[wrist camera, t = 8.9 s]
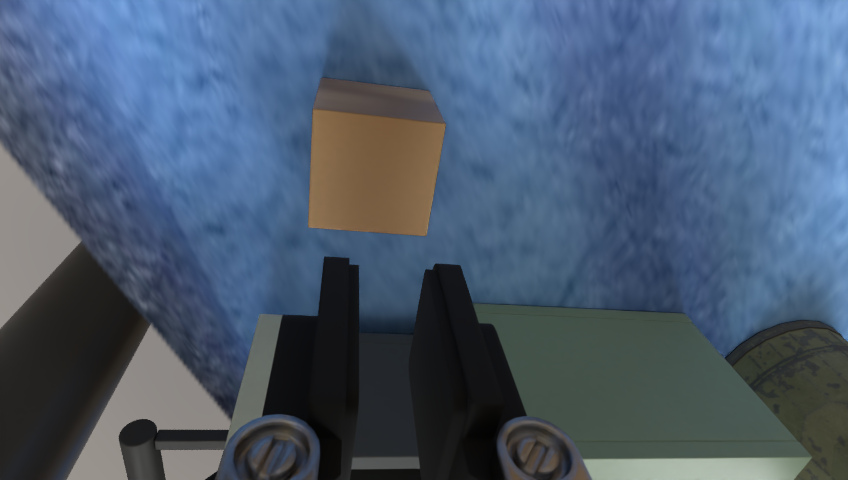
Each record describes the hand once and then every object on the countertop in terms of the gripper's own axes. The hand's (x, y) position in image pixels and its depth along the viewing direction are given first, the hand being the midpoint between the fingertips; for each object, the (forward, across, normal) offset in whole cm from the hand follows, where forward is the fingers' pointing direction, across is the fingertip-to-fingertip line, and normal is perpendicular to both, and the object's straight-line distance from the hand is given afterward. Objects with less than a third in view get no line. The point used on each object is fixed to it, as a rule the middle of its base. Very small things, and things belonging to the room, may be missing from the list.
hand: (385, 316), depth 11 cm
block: (+12, 0, 0) cm, 12 cm away
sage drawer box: (+12, -12, +15) cm, 23 cm away
